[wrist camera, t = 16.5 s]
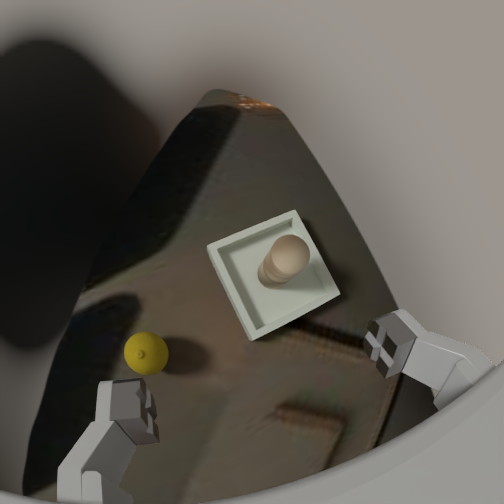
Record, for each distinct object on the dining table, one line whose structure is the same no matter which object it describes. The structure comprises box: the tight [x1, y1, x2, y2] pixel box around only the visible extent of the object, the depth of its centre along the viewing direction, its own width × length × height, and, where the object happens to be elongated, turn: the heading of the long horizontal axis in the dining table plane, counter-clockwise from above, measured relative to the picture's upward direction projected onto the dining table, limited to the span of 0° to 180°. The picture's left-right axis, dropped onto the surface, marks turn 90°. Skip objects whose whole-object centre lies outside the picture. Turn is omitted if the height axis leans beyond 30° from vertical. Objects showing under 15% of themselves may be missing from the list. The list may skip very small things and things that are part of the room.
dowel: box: [257, 234, 310, 289], centre depth 38 cm, size 4×4×10 cm
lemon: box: [124, 332, 169, 375], centre depth 34 cm, size 6×6×8 cm
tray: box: [207, 210, 340, 341], centre depth 42 cm, size 14×14×3 cm
